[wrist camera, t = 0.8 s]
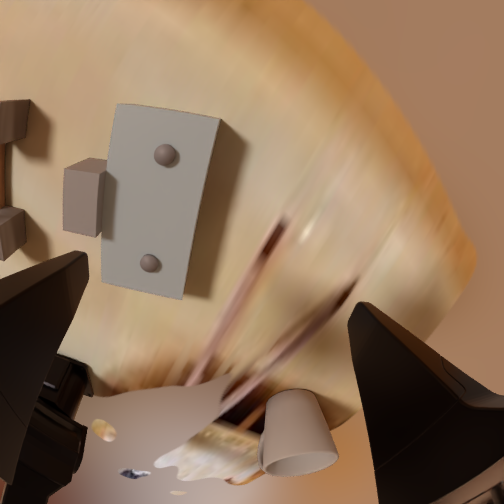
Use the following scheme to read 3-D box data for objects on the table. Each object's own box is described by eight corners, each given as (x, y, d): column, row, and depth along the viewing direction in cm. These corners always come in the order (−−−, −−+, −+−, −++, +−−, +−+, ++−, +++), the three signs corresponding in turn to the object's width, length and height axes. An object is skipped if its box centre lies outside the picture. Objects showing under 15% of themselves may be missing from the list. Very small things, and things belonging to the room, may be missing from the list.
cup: (336, 392, 29) (354, 454, 22) (280, 429, 33) (287, 484, 25) (288, 374, 27) (301, 447, 20) (232, 415, 31) (233, 477, 23)
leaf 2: (221, 118, 16) (218, 120, 13) (186, 280, 22) (180, 309, 19) (98, 100, 15) (72, 101, 12) (85, 257, 20) (66, 281, 17)
